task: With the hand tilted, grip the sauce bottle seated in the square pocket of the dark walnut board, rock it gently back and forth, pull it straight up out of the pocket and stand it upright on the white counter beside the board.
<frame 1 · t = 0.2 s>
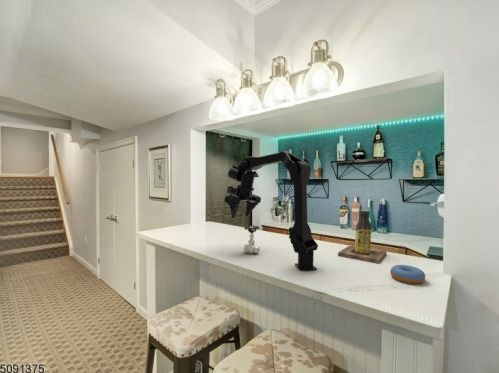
hand: (240, 216, 119), 15 cm above the counter, tool pointing down, fingers open, 9 cm apart
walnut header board: (362, 255, 113), on the counter
doughnut: (407, 280, 86), on the counter
valve: (251, 254, 114), on the counter
sauce bottle: (362, 255, 113), resting in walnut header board
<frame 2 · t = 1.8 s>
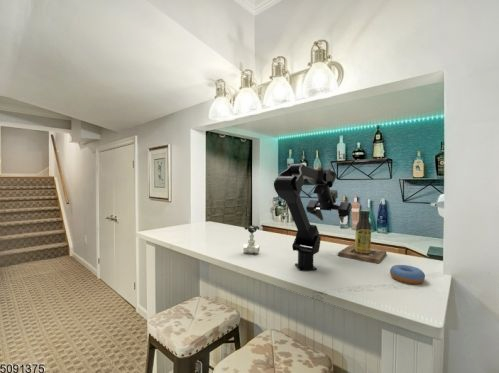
hand: (332, 221, 116), 14 cm above the counter, tool tilted 40°, fingers open, 9 cm apart
nothing on the counter moved.
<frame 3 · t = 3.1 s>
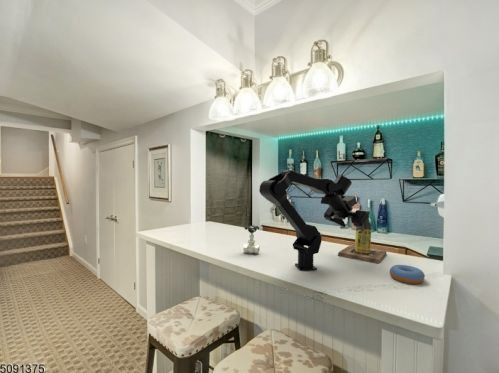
hand: (353, 228, 109), 12 cm above the counter, tool tilted 45°, fingers open, 9 cm apart
nothing on the counter moved.
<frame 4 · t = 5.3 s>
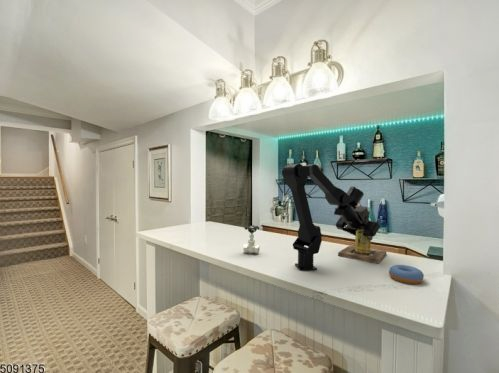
hand: (365, 237, 113), 8 cm above the counter, tool tilted 45°, fingers closed on sauce bottle, 6 cm apart
sauce bottle: (362, 255, 113), resting in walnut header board, touching gripper
everything else where it was.
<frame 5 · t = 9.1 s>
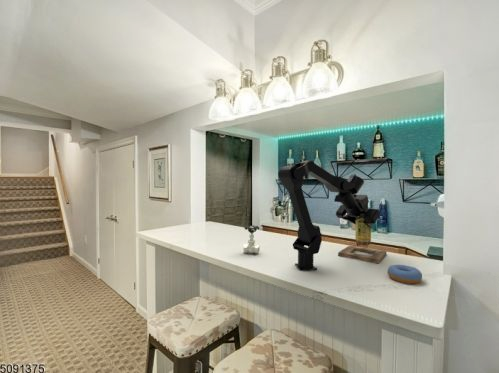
hand: (365, 226, 113), 13 cm above the counter, tool tilted 45°, fingers closed on sauce bottle, 6 cm apart
sauce bottle: (363, 244, 113), point 5 cm above the counter, touching gripper
everything else where it was.
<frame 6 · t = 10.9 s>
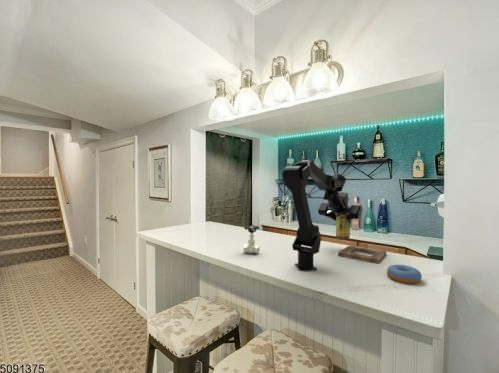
hand: (344, 221, 121), 13 cm above the counter, tool tilted 45°, fingers closed on sauce bottle, 6 cm apart
sauce bottle: (343, 239, 120), point 5 cm above the counter, touching gripper
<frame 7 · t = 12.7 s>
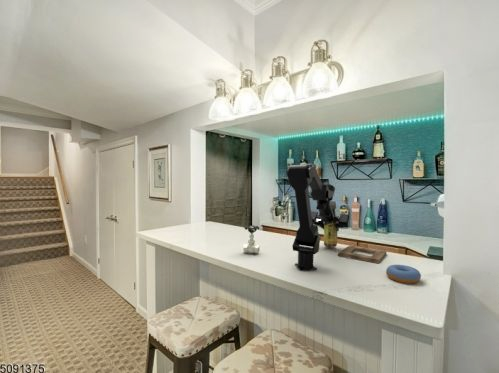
hand: (331, 229, 124), 9 cm above the counter, tool tilted 45°, fingers closed on sauce bottle, 6 cm apart
sauce bottle: (330, 246, 124), point 1 cm above the counter, touching gripper
when the fingers open (9 cm above the counter, at t = 13.6 s): sauce bottle stays where it is, on the counter.
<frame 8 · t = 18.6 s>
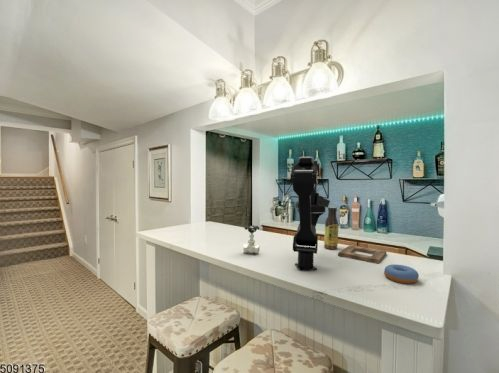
hand: (309, 226, 108), 13 cm above the counter, tool pointing down, fingers open, 9 cm apart
sauce bottle: (331, 248, 124), on the counter
at the end: sauce bottle inside the target area (0.7 cm from its centre), on the counter; sauce bottle tilted 0°; the gripper is holding nothing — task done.
